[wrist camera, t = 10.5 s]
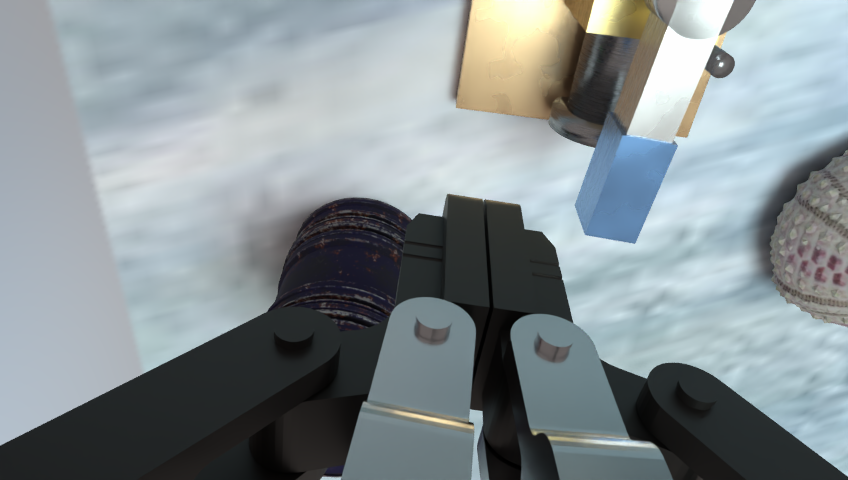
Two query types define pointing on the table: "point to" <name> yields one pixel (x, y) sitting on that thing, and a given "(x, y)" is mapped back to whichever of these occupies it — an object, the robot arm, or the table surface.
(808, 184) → the sea urchin shell
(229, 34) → the table surface
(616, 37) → the valve
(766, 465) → the robot arm
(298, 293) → the storage jar
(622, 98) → the lever
